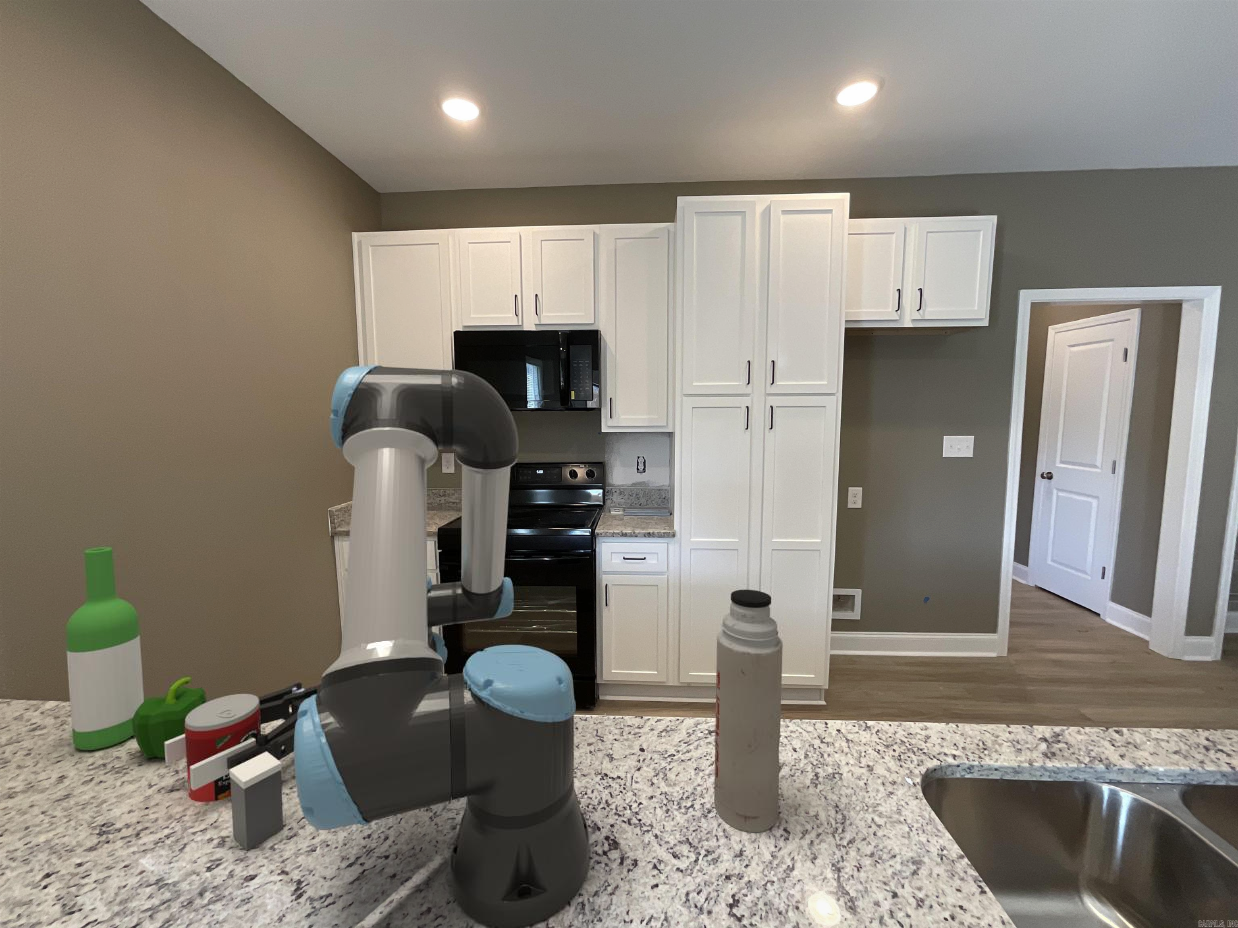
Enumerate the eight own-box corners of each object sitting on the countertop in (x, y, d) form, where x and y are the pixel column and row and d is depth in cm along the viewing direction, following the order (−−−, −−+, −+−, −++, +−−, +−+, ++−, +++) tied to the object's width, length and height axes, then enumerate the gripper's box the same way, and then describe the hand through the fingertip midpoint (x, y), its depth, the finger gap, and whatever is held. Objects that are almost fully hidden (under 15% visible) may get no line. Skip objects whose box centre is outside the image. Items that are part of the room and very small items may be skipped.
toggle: (284, 828, 56) (281, 762, 56) (246, 851, 53) (243, 781, 53) (269, 815, 58) (266, 751, 58) (232, 836, 55) (229, 769, 55)
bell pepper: (144, 775, 67) (140, 706, 66) (126, 754, 71) (122, 689, 71) (219, 742, 74) (216, 680, 73) (198, 725, 78) (195, 666, 78)
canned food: (222, 814, 60) (218, 729, 59) (171, 804, 61) (167, 721, 61) (277, 772, 67) (274, 696, 67) (231, 764, 69) (227, 690, 68)
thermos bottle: (706, 818, 60) (710, 598, 58) (722, 777, 67) (726, 580, 65) (773, 842, 56) (779, 609, 55) (782, 796, 64) (787, 589, 62)
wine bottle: (136, 717, 81) (125, 541, 79) (152, 732, 77) (141, 547, 75) (66, 742, 74) (53, 550, 72) (81, 760, 70) (67, 558, 68)
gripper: (396, 727, 74) (213, 829, 55) (325, 689, 85) (151, 763, 66) (395, 679, 74) (210, 766, 54) (324, 647, 84) (148, 710, 65)
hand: (178, 765), depth 60 cm, fingers closed on canned food, 8 cm apart
